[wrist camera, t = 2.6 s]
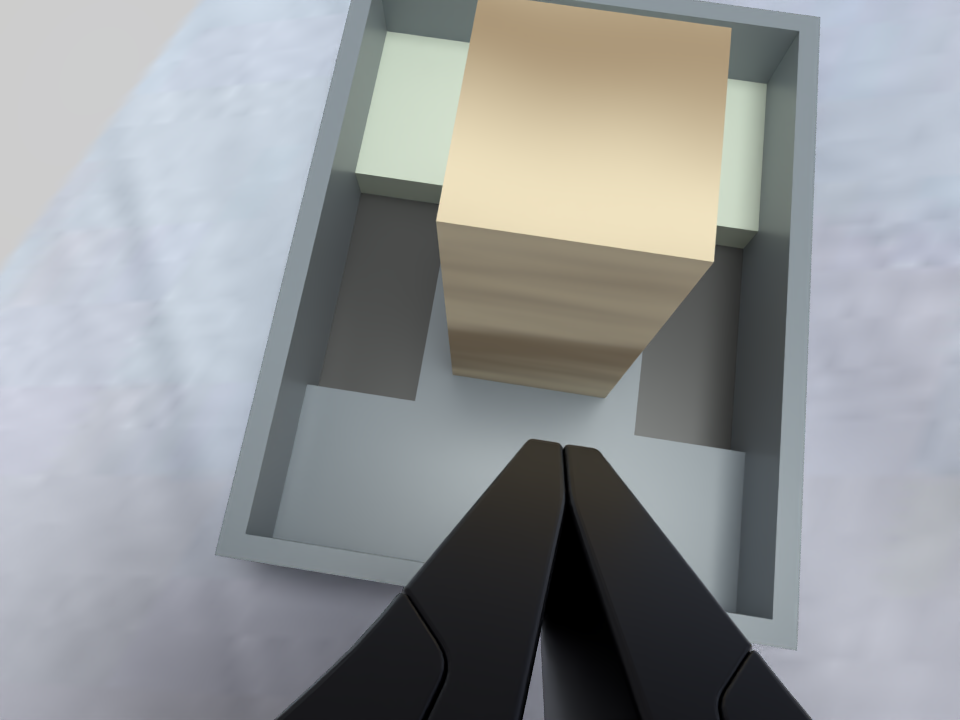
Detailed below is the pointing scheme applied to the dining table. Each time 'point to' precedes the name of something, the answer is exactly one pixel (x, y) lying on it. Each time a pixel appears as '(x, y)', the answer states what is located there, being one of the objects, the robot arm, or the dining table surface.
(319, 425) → the box
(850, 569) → the dining table surface
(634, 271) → the maple post
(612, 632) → the robot arm
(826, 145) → the dining table surface
